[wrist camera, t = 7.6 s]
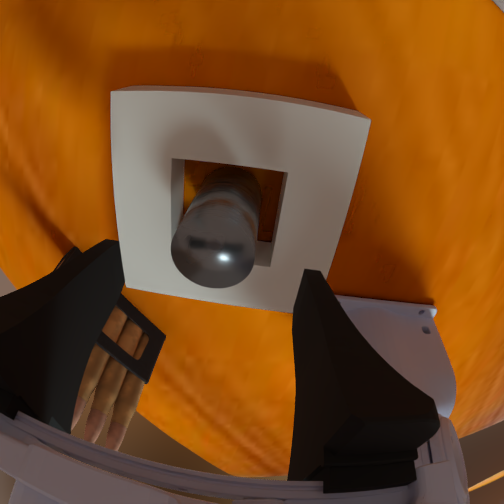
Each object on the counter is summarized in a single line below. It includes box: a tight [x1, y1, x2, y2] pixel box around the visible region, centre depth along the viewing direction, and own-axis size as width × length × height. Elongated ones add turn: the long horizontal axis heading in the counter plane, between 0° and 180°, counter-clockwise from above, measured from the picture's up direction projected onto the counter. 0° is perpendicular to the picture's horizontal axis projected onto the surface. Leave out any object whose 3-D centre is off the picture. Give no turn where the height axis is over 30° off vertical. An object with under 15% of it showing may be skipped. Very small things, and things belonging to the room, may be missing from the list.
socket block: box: [111, 86, 371, 313], centre depth 17 cm, size 12×12×2 cm
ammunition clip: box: [54, 247, 166, 451], centre depth 19 cm, size 11×2×12 cm, turn 34°
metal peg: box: [171, 166, 262, 288], centre depth 15 cm, size 4×4×6 cm
